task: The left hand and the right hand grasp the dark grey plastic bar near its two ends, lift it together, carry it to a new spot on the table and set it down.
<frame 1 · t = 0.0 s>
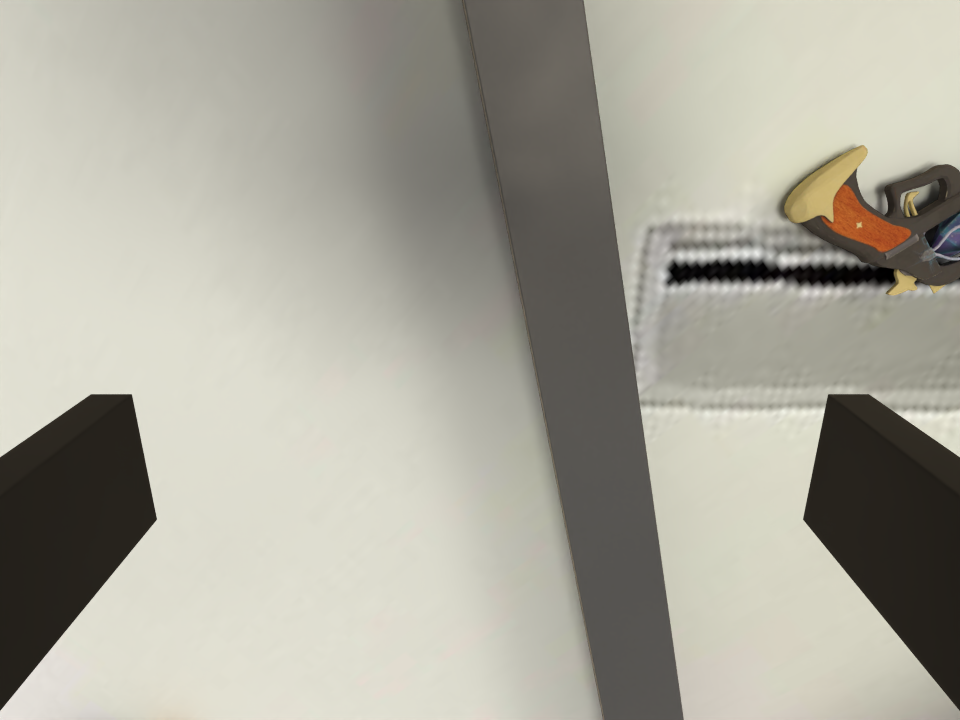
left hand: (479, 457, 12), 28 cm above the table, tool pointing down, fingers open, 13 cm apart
toy gun: (954, 177, 38), on the table
bar: (585, 430, 43), on the table
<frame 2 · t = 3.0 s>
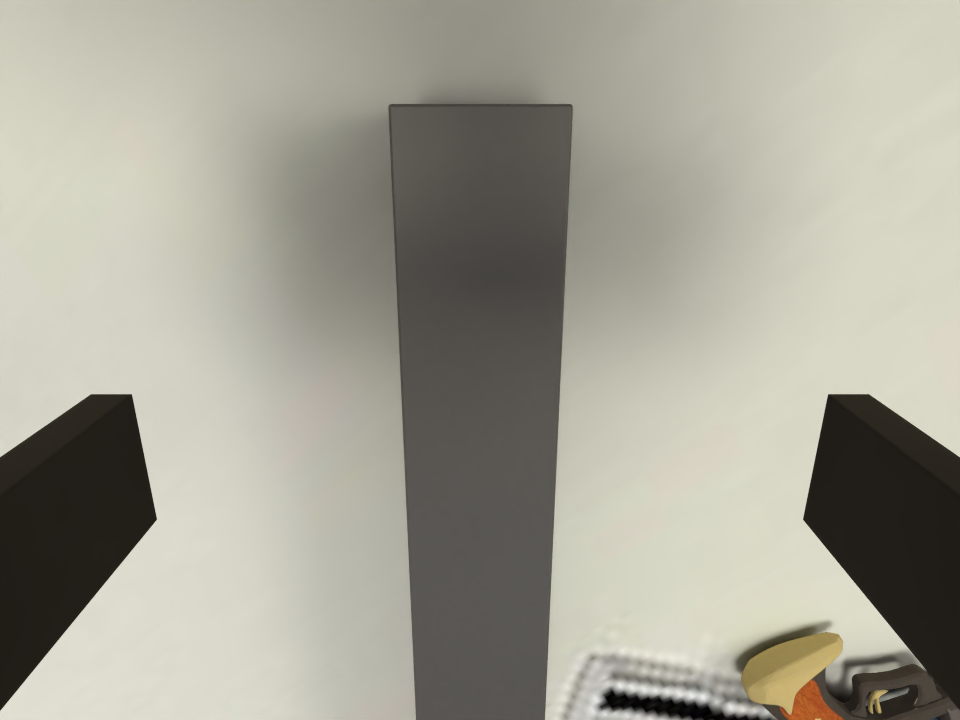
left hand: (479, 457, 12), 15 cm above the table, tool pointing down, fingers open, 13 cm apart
toy gun: (926, 667, 34), on the table
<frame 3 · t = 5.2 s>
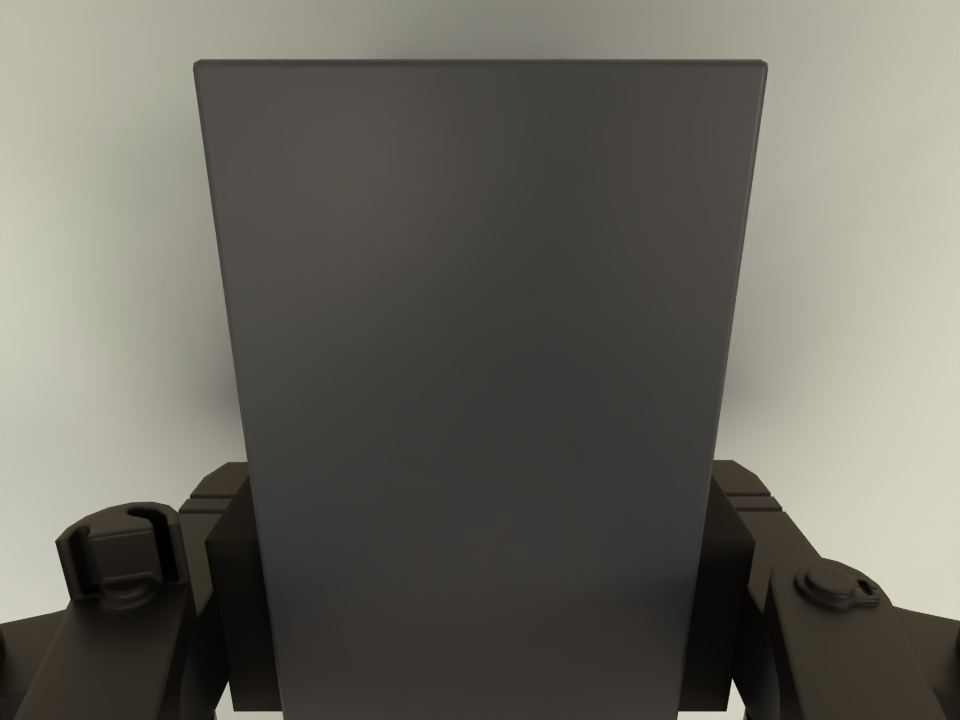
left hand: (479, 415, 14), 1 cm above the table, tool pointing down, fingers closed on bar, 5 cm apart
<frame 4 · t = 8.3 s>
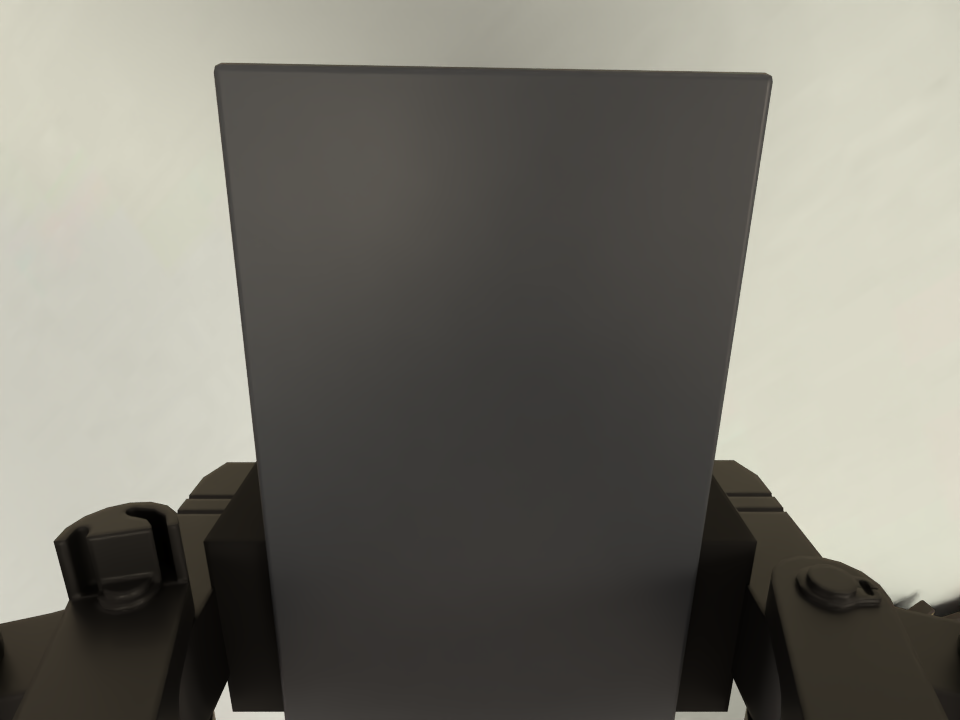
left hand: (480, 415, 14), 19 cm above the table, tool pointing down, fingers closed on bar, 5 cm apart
toy gun: (893, 601, 40), on the table
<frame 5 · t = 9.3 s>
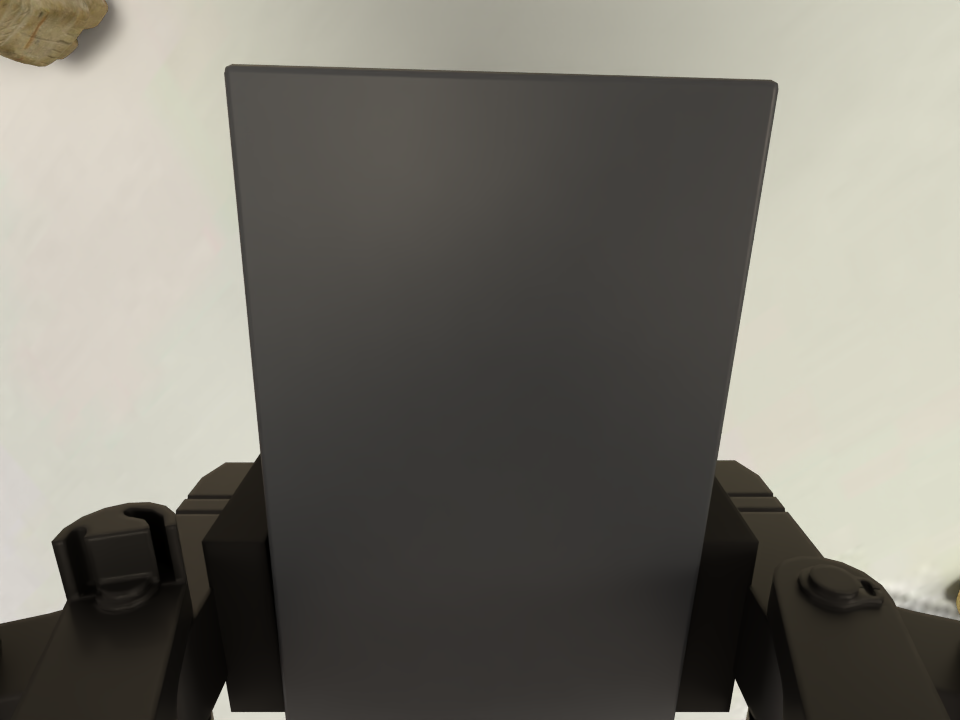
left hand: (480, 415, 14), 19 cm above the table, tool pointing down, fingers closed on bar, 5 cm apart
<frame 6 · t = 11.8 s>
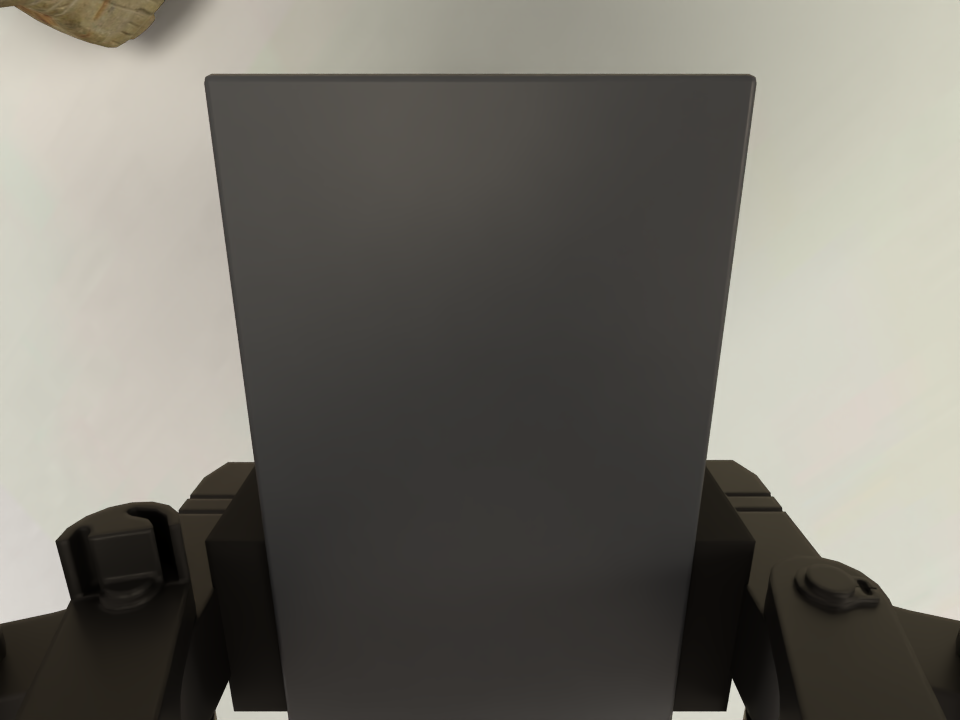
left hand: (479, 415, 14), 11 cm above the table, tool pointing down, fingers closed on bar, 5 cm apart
when the left hand's fingers open (2 cm above the table, at t = 13.7 s): bar drops 2 cm, on the table.
when the right hand's fingers open (2 cm above the table, at t = 13.7 s): bar drops 2 cm, on the table.
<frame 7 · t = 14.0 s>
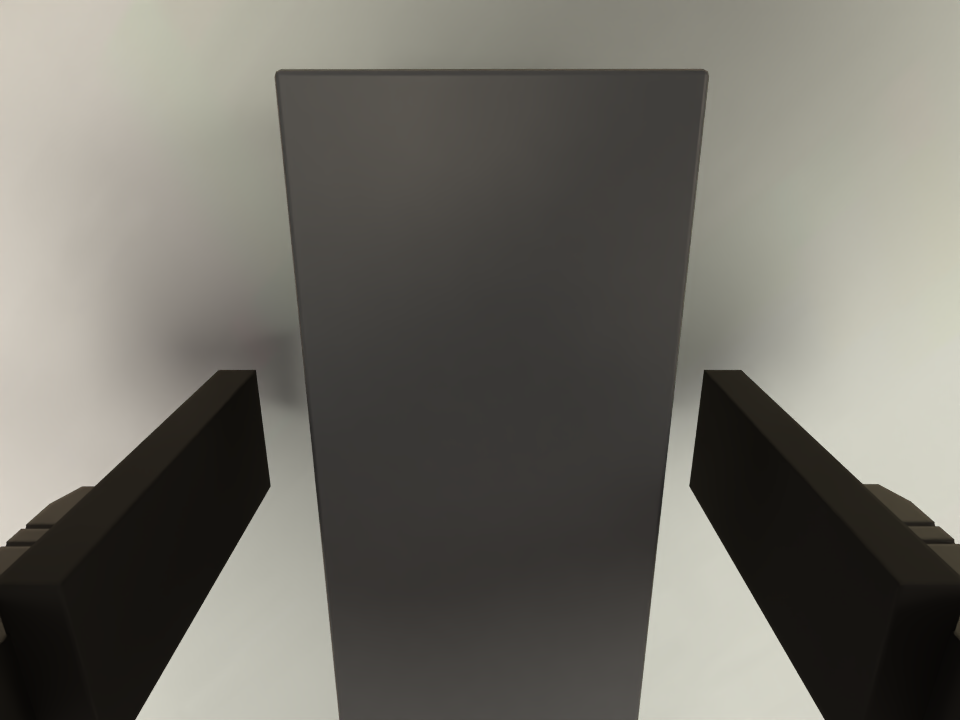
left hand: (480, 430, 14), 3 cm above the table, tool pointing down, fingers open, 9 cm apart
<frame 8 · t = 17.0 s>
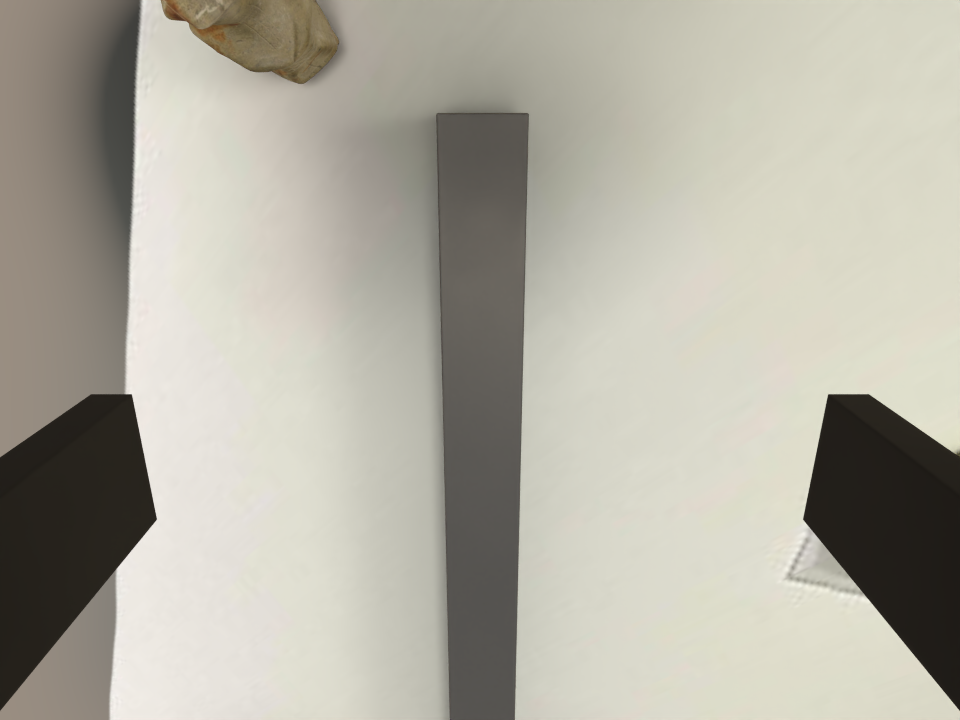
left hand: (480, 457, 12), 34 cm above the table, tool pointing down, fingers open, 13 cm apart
sculpture: (291, 25, 41), on the table
bar: (481, 599, 56), on the table
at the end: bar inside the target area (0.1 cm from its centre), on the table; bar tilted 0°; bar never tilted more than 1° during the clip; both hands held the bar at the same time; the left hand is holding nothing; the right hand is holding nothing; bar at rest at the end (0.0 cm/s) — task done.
